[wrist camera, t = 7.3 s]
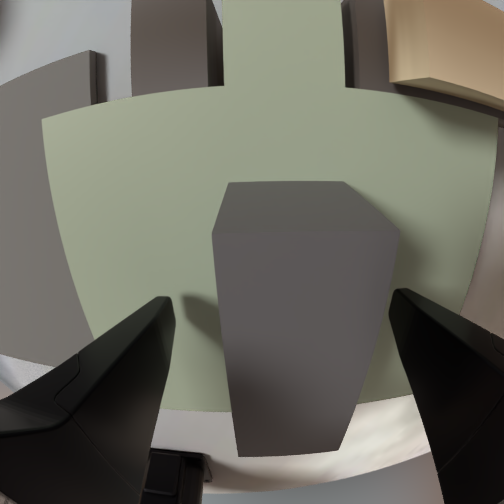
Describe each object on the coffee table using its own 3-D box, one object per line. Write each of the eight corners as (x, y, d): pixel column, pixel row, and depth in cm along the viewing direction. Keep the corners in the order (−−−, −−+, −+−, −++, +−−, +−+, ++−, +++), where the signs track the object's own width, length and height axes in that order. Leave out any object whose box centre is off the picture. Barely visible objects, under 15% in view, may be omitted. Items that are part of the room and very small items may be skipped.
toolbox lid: (419, 379, 12) (450, 448, 9) (128, 391, 13) (103, 466, 9) (480, 36, 6) (569, 27, 2) (54, 33, 6) (-39, 15, 2)
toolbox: (452, 321, 16) (489, 372, 12) (148, 338, 16) (124, 404, 12) (493, 71, 10) (560, 74, 5) (105, 49, 10) (41, 30, 5)
